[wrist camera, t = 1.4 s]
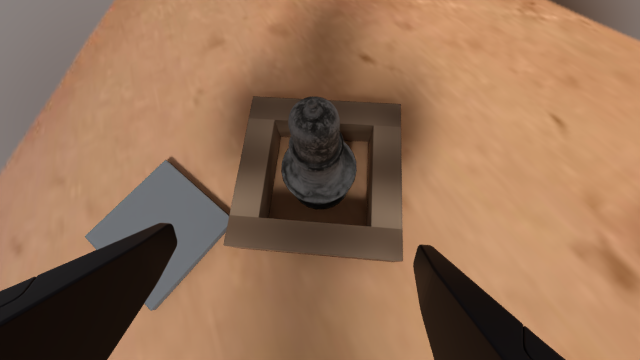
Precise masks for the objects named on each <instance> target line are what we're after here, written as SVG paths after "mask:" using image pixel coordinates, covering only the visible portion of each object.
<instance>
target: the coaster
mask: <svg viewBox="0 0 640 360" xmlns="http://www.w3.org/2000/svg"><path fill="white" fill-rule="evenodd" d="M228 220H229V215H228V214H227V213H226V212H225V211H223V210H222V209H221V208H220V207H219V206H218V205H217V204H216V203H214V202H213V201H212V200H211V199H210V198H209V197H208V196H207V195H205V194H204V193H203V192H202V191H201V190H200V189H199V188H198V187H196V186H195V185H194V184H193V183H192V182H191V181H190V180H189V179H187V178H186V177H185V176H184V175H183V174H182V173H181V172H180V171H178V170H177V169H176V168H175V167H174V166H173V165H172V164H171V163H169V162H168V161H166V160H165V161H164V162H163V163H162V164H161V165H160V166H159V167H157V168H156V169H155V170H154V171H153V172H152V173H151V174H150V175H149V176H148V177H147V178H146V179H145V180H144V181H143V182H142V183H141V184H140V185H138V186H137V187H136V188H135V189H134V190H133V191H132V192H131V193H130V194H129V195H128V196H127V197H126V198H125V199H124V200H123V201H122V202H121V203H119V204H118V205H117V206H116V207H115V208H114V209H113V210H112V211H111V212H110V213H109V214H108V215H107V216H106V217H105V218H104V219H103V220H102V221H100V222H99V223H98V224H97V225H96V226H95V227H94V228H93V229H92V230H91V231H90V232H89V233H88V234H87V235H86V236H85V237H86V238H87V240H88V241H89V242H90V243H91V244H92V245H93V246H94V247H95V249H96V250H98V249H100V248H102V247H105V246H107V245H109V244H112V243H114V242H116V241H119V240H121V239H123V238H126V237H128V236H130V235H133V234H135V233H137V232H139V231H142V230H144V229H146V228H149V227H151V226H153V225H156V224H158V223H170V224H172V225H173V226H174V230H175V234H176V237H177V247H176V249H175V251H174V253H173V255H172V257H171V259H170V260H169V262H168V264H167V266H166V268H165V270H164V272H163V274H162V276H161V277H160V279H159V281H158V283H157V285H156V286H155V288H154V289H153V291H152V292H151V294H150V295H149V297H148V298H147V300H146V302H145V303H144V304H145V305H146V306H147V307H148V308H149V309H150V310H155V309H157V308H158V306H159V305H160V304H161V303H162V302H163V301H164V300H165V299H166V298H167V296H168V295H169V294H170V293H171V292H172V291H173V290H174V289H175V288H176V286H177V285H178V284H179V283H180V282H181V281H182V280H183V279H184V278H185V277H186V275H187V274H188V273H189V272H190V271H191V270H192V269H193V268H194V267H195V265H196V264H197V263H198V262H199V261H200V260H201V259H202V258H203V257H204V255H205V254H206V253H207V252H208V251H209V250H210V249H211V248H212V247H213V245H214V244H215V243H216V242H217V241H218V240H219V239H220V238H221V237H222V235H223V234H224V233H225V232H226V230H227V225H228Z"/></svg>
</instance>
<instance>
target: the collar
mask: <svg viewBox="0 0 640 360" xmlns="http://www.w3.org/2000/svg"><path fill="white" fill-rule="evenodd" d="M300 100H302V99H293V98H274V97H255V96H253V100H252V105H251V110H250V115H249V120H248V125H247V130H246V135H245V140H244V145H243V150H242V155H241V160H240V165H239V170H238V175H237V180H236V185H235V190H234V195H233V200H232V205H231V210H230V215H229V220H228V225H227V230H226V234H225V239H224V244H223V245H224V246H229V247H234V248H242V249H253V250H265V251H276V252H287V253H298V254H309V255H320V256H332V257H343V258H354V259H365V260H376V261H387V262H400V261H403V238H402V169H401V104H389V103H370V102H350V101H331V100H328V101H330V102H331V103H332V104H333V105H334V106H335V108H336V109H337V112H338V115H339V118H340V129H339V131H340V132H341V134H342V136H343V139H344V140H347V141H363V142H369V146H368V179H367V213H366V226H357V225H345V224H333V223H321V222H308V221H296V220H284V219H272V218H268V217H269V210H270V203H271V197H272V190H273V184H274V177H275V170H276V164H277V157H278V151H279V144H280V138H281V136H282V137H291V134H290V130H289V126H288V119H289V114H290V111H291V109H292V108H293V106H294V105H295V104H296V103H297V102H299V101H300Z"/></svg>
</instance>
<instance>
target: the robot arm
mask: <svg viewBox="0 0 640 360" xmlns="http://www.w3.org/2000/svg"><path fill="white" fill-rule="evenodd" d="M176 247H177V237H176V234H175V230H174V226H173V225H172V224H170V223H158V224H156V225H153V226H151V227H149V228H146V229H144V230H142V231H139V232H137V233H135V234H133V235H130V236H128V237H126V238H123V239H121V240H119V241H116V242H114V243H112V244H109V245H107V246H105V247H102V248H100V249H98V250H95V251H93V252H91V253H89V254H86V255H84V256H82V257H79V258H77V259H75V260H72V261H70V262H68V263H65V264H63V265H61V266H58V267H56V268H54V269H51V270H49V271H47V272H44V273H42V274H40V275H38V276H37V277H33V278H30V279H28V280H26V281H23V282H21V283H19V284H17V285H14V286H12V287H9V288H7V289H5V290H2V291H0V360H107V359H108V358H109V356H110V355H111V353H112V352H113V350H114V349H115V347H116V346H117V344H118V343H119V341H120V340H121V338H122V336H123V335H124V333H125V332H126V330H127V329H128V327H129V326H130V324H131V323H132V321H133V320H134V318H135V317H136V315H137V314H138V312H139V311H140V309H141V308H142V306H143V305H144V303H145V302H146V300H147V298H148V297H149V295H150V294H151V292H152V291H153V289H154V288H155V286H156V285H157V283H158V281H159V279H160V277H161V276H162V274H163V272H164V270H165V268H166V266H167V264H168V262H169V260H170V259H171V257H172V255H173V253H174V251H175V249H176ZM413 267H414V274H415V280H416V286H417V292H418V298H419V304H420V310H421V314H422V318H423V321H424V325H425V328H426V332H427V335H428V339H429V342H430V346H431V349H432V353H433V357H434V360H565V359H564V358H563V357H562V356H560V355H559V354H558V353H557V352H555V351H554V350H553V349H552V348H551V347H549V346H548V345H547V344H546V343H545V342H543V341H542V340H541V339H540V338H539V337H537V336H536V335H535V334H534V333H533V332H532V331H530V330H529V329H528V328H527V327H526V326H523V324H522V323H521V322H520V321H519V320H518V319H516V318H515V317H514V316H513V315H512V314H511V313H509V312H508V311H507V310H506V309H505V308H504V307H502V306H501V305H500V304H499V303H498V302H497V301H495V300H494V299H493V298H492V297H491V296H490V295H488V294H487V293H486V292H485V291H484V290H483V289H481V288H480V287H479V286H478V285H477V284H476V283H474V282H473V281H472V280H471V279H470V278H469V277H467V276H466V275H465V274H464V273H463V272H462V271H461V270H459V269H458V268H457V267H456V266H455V265H454V264H452V263H451V262H450V261H449V260H448V259H447V258H445V257H444V256H443V255H442V254H441V253H440V252H438V251H437V250H436V249H435V248H434V247H432V246H431V245H419V246H418V248H417V252H416V255H415V259H414V265H413Z"/></svg>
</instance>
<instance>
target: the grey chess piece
mask: <svg viewBox="0 0 640 360" xmlns="http://www.w3.org/2000/svg"><path fill="white" fill-rule="evenodd" d="M288 126H289V130H290V134H291V137H290V140H289V149H288V150H287V152H286V153H285V155H284V158H283V161H282V171H281V172H282V176H283V181H284V182H285V184H286V186H287V188H288V189H289V190H290V191H291V192H292V193H293V194H294V195H295V196H296V198H297V199H298V200H299V201H300V202H301V203H302V204H304V205H306V206H307V207H310V208H313V209H327V208H331V207H333V206H335V205H337V204H338V203H339V202H340V201H341V200H342V199H343V198H344V197H345V195H346V193H347V192H348V190H349V189H350V187H351V185H352V184H353V182H354V179H355V175H356V171H357V170H356V160H355V157H354V154H353V152H352V151H351V149H350V148H349V146H348V145H347V144H346V143H345V142H344V139H343V136H342V134H341V132H340V131H339V129H340V118H339V115H338V112H337V109H336V108H335V106H334V105H333V104H332V103H331V102H330V101H328V100H326V99H324V98H320V97H307V98H304V99H302V100H300V101H299V102H297V103H296V104H295V105H294V106H293V108H292V109H291V111H290V114H289V119H288Z"/></svg>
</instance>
